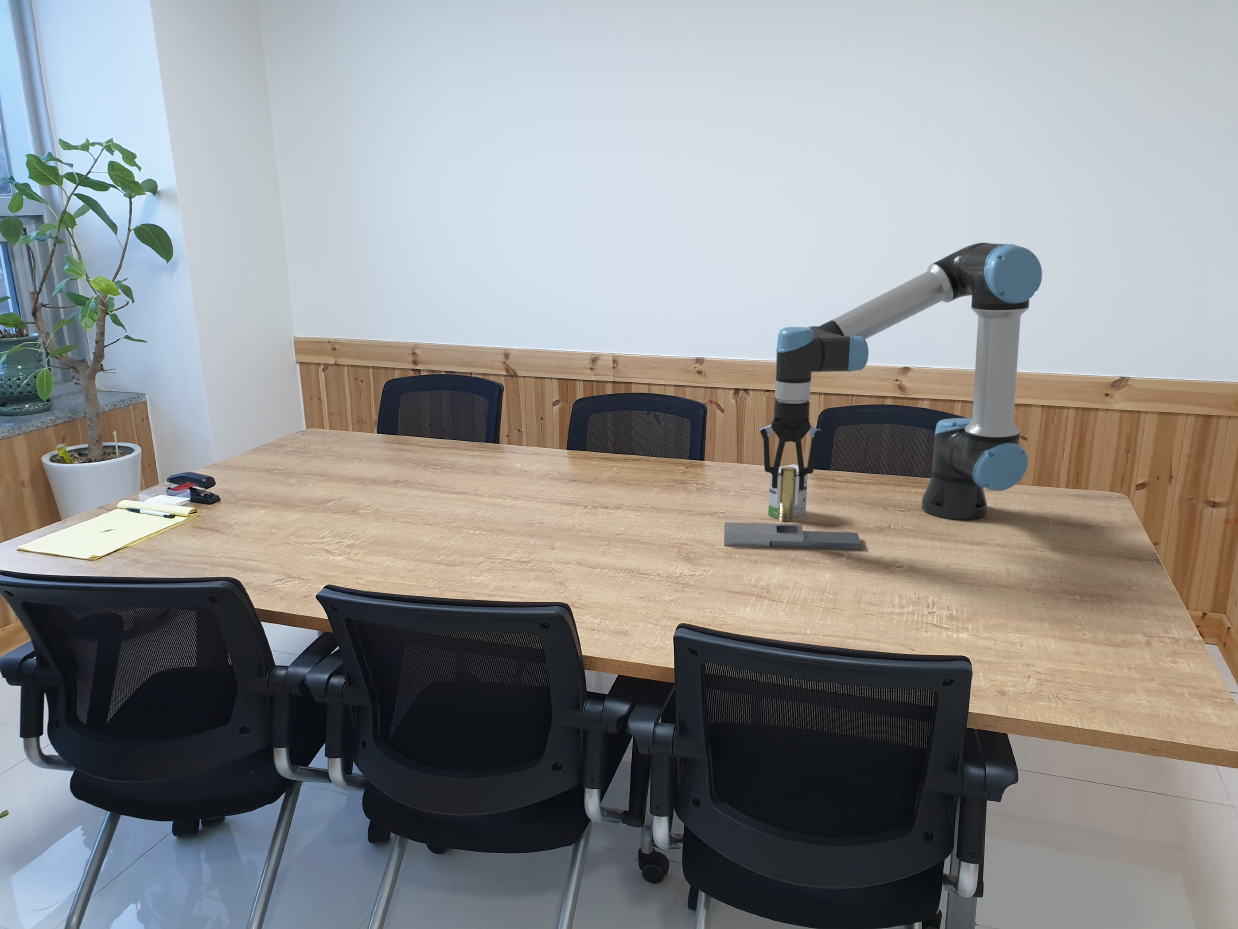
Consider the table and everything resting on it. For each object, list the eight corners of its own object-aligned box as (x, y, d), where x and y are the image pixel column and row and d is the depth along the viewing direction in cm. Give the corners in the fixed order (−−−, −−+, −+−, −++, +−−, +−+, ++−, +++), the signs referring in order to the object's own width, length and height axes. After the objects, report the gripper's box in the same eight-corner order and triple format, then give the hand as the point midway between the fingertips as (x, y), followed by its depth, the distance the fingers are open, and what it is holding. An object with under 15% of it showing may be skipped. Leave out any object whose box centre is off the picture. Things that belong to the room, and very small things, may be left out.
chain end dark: (856, 538, 207) (857, 532, 207) (860, 550, 200) (861, 543, 200) (770, 535, 210) (770, 529, 209) (771, 546, 203) (771, 540, 203)
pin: (793, 517, 206) (796, 467, 202) (793, 522, 202) (796, 471, 199) (777, 517, 206) (780, 466, 203) (778, 522, 203) (781, 470, 200)
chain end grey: (801, 536, 209) (801, 524, 208) (803, 548, 202) (803, 535, 201) (724, 534, 211) (724, 522, 210) (723, 545, 204) (724, 532, 203)
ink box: (781, 520, 219) (782, 473, 216) (767, 515, 223) (768, 469, 220) (807, 513, 224) (809, 467, 221) (792, 508, 228) (794, 463, 225)
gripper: (829, 397, 199) (822, 498, 206) (754, 395, 201) (750, 495, 208) (832, 404, 192) (825, 509, 199) (754, 402, 194) (750, 506, 201)
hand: (786, 502), depth 203 cm, fingers closed on pin, 3 cm apart
